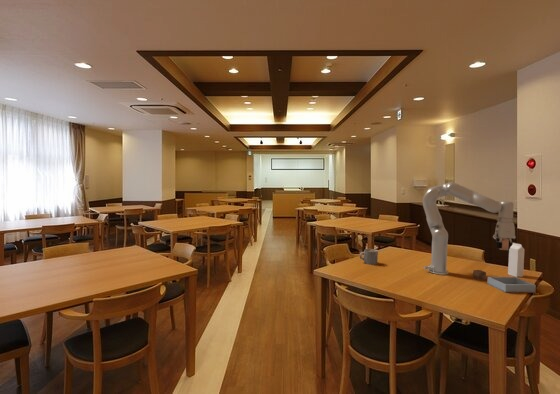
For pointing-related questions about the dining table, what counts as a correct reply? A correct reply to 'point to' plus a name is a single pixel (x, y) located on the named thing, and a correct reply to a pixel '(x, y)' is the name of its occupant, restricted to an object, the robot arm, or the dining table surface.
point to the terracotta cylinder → (505, 244)
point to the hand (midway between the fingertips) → (503, 247)
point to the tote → (511, 284)
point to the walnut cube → (479, 274)
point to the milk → (516, 260)
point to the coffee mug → (370, 256)
